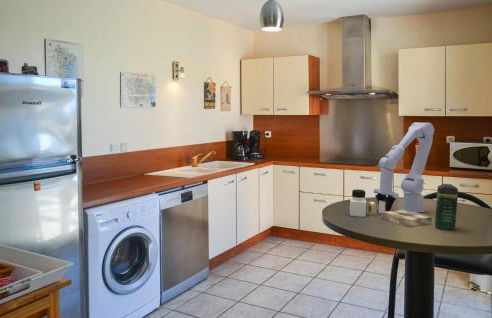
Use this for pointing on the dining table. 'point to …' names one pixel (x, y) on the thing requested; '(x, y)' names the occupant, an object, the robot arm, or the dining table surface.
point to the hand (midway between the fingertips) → (384, 210)
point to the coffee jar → (446, 207)
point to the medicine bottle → (358, 203)
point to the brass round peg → (372, 208)
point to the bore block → (406, 218)
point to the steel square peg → (382, 206)
